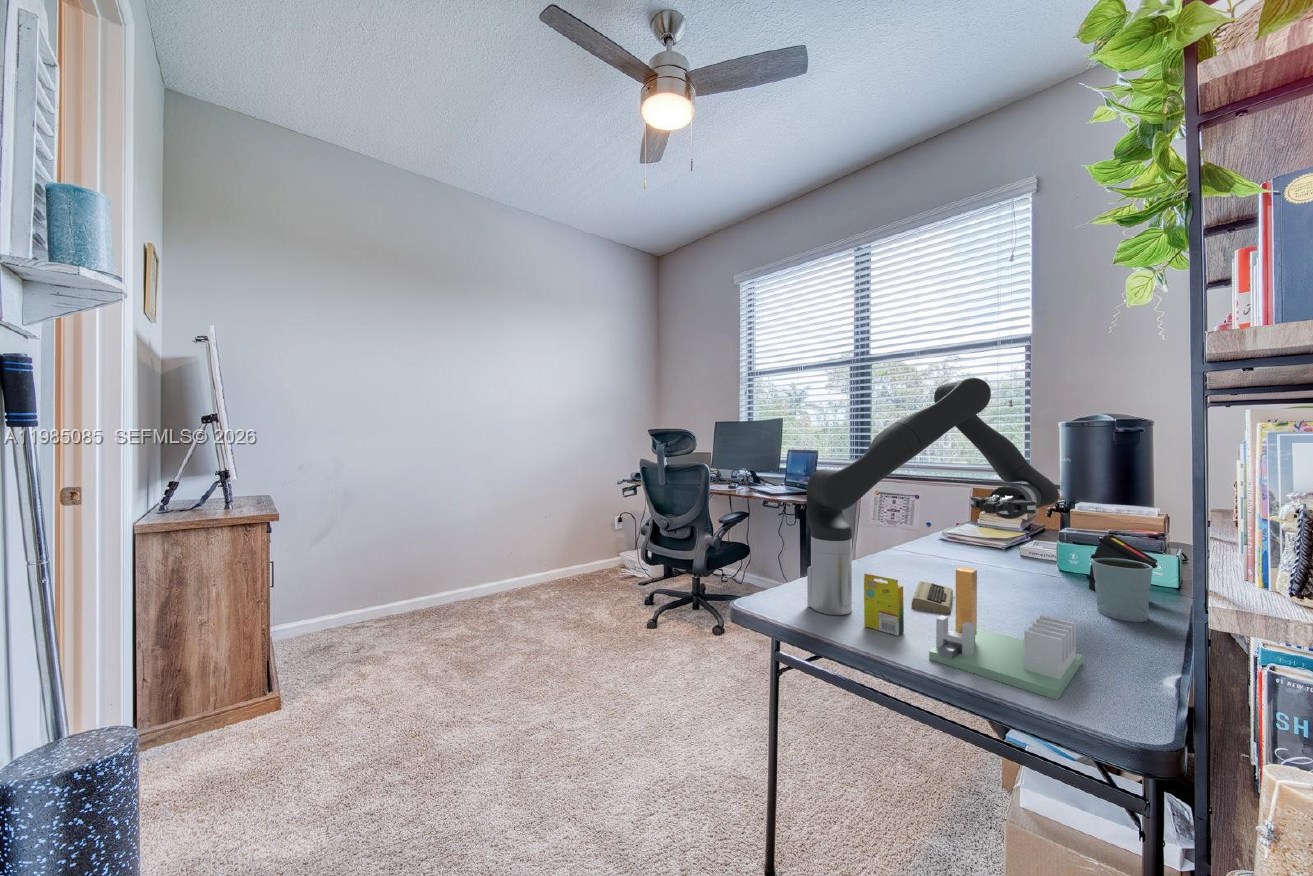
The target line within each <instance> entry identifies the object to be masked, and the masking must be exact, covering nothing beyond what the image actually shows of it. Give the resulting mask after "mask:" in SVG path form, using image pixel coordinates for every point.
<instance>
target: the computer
mask: <svg viewBox="0 0 1313 876" xmlns="http://www.w3.org/2000/svg"><path fill="white" fill-rule="evenodd" d="M953 594H954V591H953V589H952V588H951V587H948V586H945V585H940V584H937V583H934V582H928V581H919V582H918V584H917V587H916V589H915V591H914V595H913V597H912V601H911V608H912V609H915V610H921V609H924V610H923V611H927V610H929V611H928V612H933V611H935V612H934V613H939V612H940V614H945V615H949V614H950V612H951V608H952V600H953Z"/></svg>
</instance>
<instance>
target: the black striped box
mask: <svg viewBox="0 0 1313 876" xmlns="http://www.w3.org/2000/svg"><path fill="white" fill-rule="evenodd" d="M1098 542H1099V544H1098V545H1097V547H1096V549H1095V552H1094V554H1091V555H1090V559H1091V560H1093V559H1095V558H1117V559H1126V560H1132V561H1138V562H1142V563H1146V564H1148V565H1150V566H1152V567H1153V569H1156V568H1158V566H1159V565H1158V564H1157V563H1158V560H1157V559H1156V558H1154V557H1153V556H1151V555H1149V554H1147V553H1145V552H1144V551H1142V550H1140V549H1138V548H1136V547H1135V546H1133V545H1132V544H1130V543H1127V542H1126V541H1124V540H1122V539H1121V538H1119V537H1118V536H1116V535H1114V534H1104V536H1103V537H1101V538H1099V539H1098ZM1086 580H1088V588H1089V590H1093V591H1096V589H1095V583H1096V582H1095V580H1094V573H1093V565H1092V563H1091V565H1090V570H1089V574H1086Z"/></svg>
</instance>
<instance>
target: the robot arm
mask: <svg viewBox="0 0 1313 876" xmlns="http://www.w3.org/2000/svg"><path fill="white" fill-rule="evenodd" d="M935 389H936V390H935V391H934V394H933V395H934V396H933V400H934V403H933V404H930V405H928V406H926V407H924V408H922V409H919V410H917V411H915V412H912V413H910V414H909V415H906V416H903V417H902V418H899V419H898V420H896V421H895V422H893V423H891V424H890V425H889V426H887V427H886V428H885V429H883V430H882V431H880V432H879V433H878V434H877V435H875V437H874V438H873V440H872V442H871V443H870V445H869V446H868V448H867V450H866V452H865V453H864V454H863V455H862V456H861V457H859V458H858V459H856V460H855V461H854V462H852V463H850V464H849V465H847V466H846V467H844V468H841V469H839V470H835V469H827V468H822V469H818V470H816V471H815V472H813V473H812V474H811V475H810V477H809V478H808V481H807V485H806V496H805V497H806V512H807V513H806V515H807V523H808V525H809V528H810V566H808V567H807V569H806V570H807V571H806V573H807V576H806V577H807V578H806V579H807V580H806V581H807V591H806V592H807V594H806V595H807V599H806V600H807V603H806V604H807V605H806V606H807V607H809V608H811V609H812V610H814V611H816V612H817V613H820V614H825V615H829V616H830V615H831V616H843V615H849V614H850V613H852V611H853V601H852V599H853V598H852V597H853V596H852V595H853V587H852V586H853V574H852V573H853V571H852V570H853V567H852V566H853V549H852V547H853V541H852V540H853V538H852V537H853V532H852V527H851V525H850V524H849V522H848V521H847V520H846V518H845V516H844V513H843V510H847V509H849V508H851V507H852V506H854V505H855V504H856V503H857V502H858V501H859V500H861V499H862V498H863V497H864V496H865V495H866V494H867V493H868V492H869V491H870V490H871V489H873V487H875V486H876V485H877V484H878V483H879V482H880V481H882V480H883V479H885V478H886V477H888V476H889V475H891V474H892V473H894V471H896V470H897V469H899V468H900V467H901V466H903V465H905V464H906V463H908V462H909V461H911V460H912V459H913V458H915V457H916V456H918V455H919V454H921V453H922V452H923V451H924V450H925V449H927V448H928V447H929V446H931V445H932V444H933V443H935V442H936V441H937V440H938V439H940V438H941V437H943V435H945V434H947V432H949V431H950V430H952V429H953V428H956V429H958V431H959V432H960V433H962V435H964V437H966V439H967V440H969V441H970V442H971V443H972V444H973V445H974V447H975V448H976V449H977V450H978V451H979V452H980V453H981V454H982V456H984V458H985V459H986V460H987V462H988V463H989V464H990V466H991V467H992V469H993V470H994V472H995V473H996V474H997V475H998V477H999V479H1001V481H1003V482H1005V483H1010V484H1008V485H1003V486H1000V487H997V488H996V489H994V490H993V491H991V493H990V495H989V496H985V497H983V498H981V496H980V497H978V496H975V495H971V496H970V508H972V509H975V510H978V511H981V512H985V514H990V515H994V514H995V515H996V516H997V517H999V518H1003V519H1005V520H1016V519H1018V518H1020V517H1023V516H1026V515H1028V514H1032V515H1033V514H1036V511H1037V509H1041V508H1043V507H1047V506H1051V505H1053V504H1055V503H1057V502H1058V500H1059V497H1060V493H1059V489H1058V488H1057V485H1055V483H1054V482H1053V481H1051V480H1050V479H1049V478H1048V477H1046V476H1045V475H1043V474H1042V473H1041V472H1040V471H1038V470H1037V469H1036V468H1035V467H1033V466H1032V465H1031V464H1030V463H1029V462H1028V461H1027V460H1026V458H1025V457H1024V455H1023V454H1022V453H1021V452H1020V450H1019V448H1018V447H1017V446H1016V445H1015V444H1014V443H1013V442H1012V441H1011V440H1010V439H1009V438H1007V437H1006V436H1004V435H1003V434H1002V433H1000V432H998V431H997V430H995V429H994V428H992V427H991V426H989V425H988V424H987V423H986V422H984V420H982V419H981V418H980V416H978V414H979V413H981V412H982V411H984V410H985V408H986V407H987V406H988V405H989V403H990V400H991V396H992V391H991V387H990V385H989V384H988V383H987V382H986V381H985V380H983V379H982V378H978V377H963V378H959V379H955V380H951V381H946V382H944V383H941V384H940V385H938V387H937V388H935ZM1018 482H1021V483H1018ZM1013 483H1014V484H1013ZM1015 483H1016V484H1015Z"/></svg>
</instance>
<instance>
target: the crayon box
mask: <svg viewBox="0 0 1313 876" xmlns="http://www.w3.org/2000/svg"><path fill="white" fill-rule="evenodd" d="M863 575H864V577H863V578H864V579H863V603H864V604H863V607H864V609H863V613H864V614H863V616H864V618H863V619H864V620H863V621H864V623H863V624H864V627H865V628H869V627H870V629H872V628H873V629H872V630H877V631H880V632H884V633H888V634H890V633H891V635H894V636H897V637H899V636H901V635H902V634H903V633H904V632H905V626H904V623H905V620H904V619H905V615H904V614H905V613H904V610H905V609H904V608H905V607H904V604H905V603H904V586H902V585H899V584H898V582H899V580H898V579H896V578H895V579H894V578H891V577H884V576H880V575H879V576H878V575H874V574H869V573H864V574H863ZM877 580H882V581H884V582H882V581H877Z"/></svg>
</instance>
